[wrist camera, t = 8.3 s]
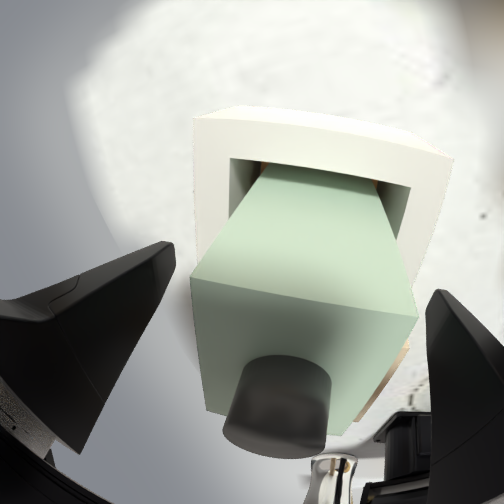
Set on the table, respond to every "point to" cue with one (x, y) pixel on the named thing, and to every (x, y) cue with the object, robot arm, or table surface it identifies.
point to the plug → (299, 310)
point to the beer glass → (331, 479)
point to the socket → (317, 167)
